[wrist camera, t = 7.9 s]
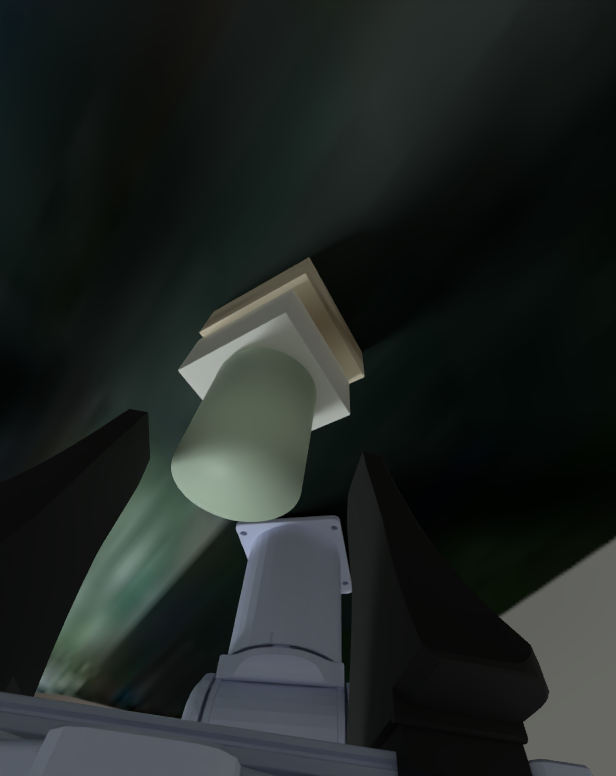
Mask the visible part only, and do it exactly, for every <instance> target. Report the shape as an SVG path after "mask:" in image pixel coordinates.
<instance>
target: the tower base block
mask: <svg viewBox="0 0 616 776" xmlns="http://www.w3.org/2000/svg"><path fill="white" fill-rule="evenodd" d="M292 288H293V289H294V290H295V292H296V293H297V295H298V297H299V298H300V300H301V302H302V303H303V305H304V307H305V308H306V310H307V312H308V313H309V315H310V317H311V318H312V320H313V322H314V323H315V325H316V327H317V328H318V330H319V332H320V333H321V335H322V337H323V338H324V340H325V342H326V343H327V345H328V346H329V348H330V350H331V351H332V353H333V355H334V356H335V358H336V360H337V361H338V363H339V365H340V366H341V368H342V370H343V371H344V373H345V375H346V376H347V378H348V380H349V383H352V382H354V381H356V380H358V379H361V378H363V377H364V368H363V359H362V352H361V350H360V348H359V346H358V344H357V343H356V341H355V339H354V337H353V335H352V333H351V332H350V330H349V328H348V326H347V324H346V323H345V321H344V319H343V317H342V315H341V314H340V312H339V310H338V308H337V306H336V305H335V303H334V301H333V299H332V297H331V296H330V294H329V292H328V290H327V288H326V287H325V285H324V283H323V281H322V279H321V278H320V276H319V274H318V272H317V270H316V269H315V267H314V265H313V263H312V261H311V260H310V258H307V259H305V260H304V261H302V262H300V263H298V264H296V265H295V266H293V267H291V268H289V269H288V270H286V271H284V272H282V273H281V274H279V275H277V276H275V277H274V278H272V279H270V280H268V281H267V282H265V283H263V284H261V285H260V286H258V287H256V288H254V289H253V290H251V291H249V292H247V293H246V294H244V295H242V296H240V297H238V298H237V299H235V300H233V301H231V302H230V303H228V304H226V305H224V306H223V307H221V308H219V309H217V310H216V311H214V312H213V314H212V315H211V316H210V318H209V319H208V321H207V322H206V324H205V325H204V326H203V328H202V329H201V331H200V334H201V335H202V336H203V338H204V337H206V336H208V335H209V334H211V333H213V332H215V331H216V330H218V329H220V328H222V327H224V326H225V325H227V324H229V323H231V322H233V321H234V320H236V319H238V318H240V317H242V316H243V315H245V314H247V313H249V312H251V311H252V310H254V309H256V308H258V307H260V306H261V305H263V304H265V303H267V302H269V301H270V300H272V299H274V298H276V297H277V296H279V295H281V294H283V293H285V292H286V291H288V290H290V289H292Z"/></svg>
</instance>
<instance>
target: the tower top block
mask: <svg viewBox="0 0 616 776" xmlns="http://www.w3.org/2000/svg"><path fill="white" fill-rule="evenodd" d="M252 348H266V349H272V350H277V351H279V352H282V353H285V354H287V355H289V356H291V357H292V358H294V359H296V360H297V361H298V362H299V363H301V364H302V365H303V366H304V367H305V368H306V370H307V371H308V372H309V373H310V375H311V377H312V379H313V381H314V383H315V387H316V394H317V397H316V405H315V411H314V417H313V423H312V429H311V431H312V430H314V429H317V428H319V427H322V426H324V425H326V424H329V423H331V422H334V421H336V420H338V419H341V418H343V417H346V416H348V415H350V398H349V380H348V378H347V376H346V375H345V373H344V371H343V370H342V368H341V366H340V365H339V363H338V361H337V360H336V358H335V356H334V355H333V353H332V351H331V350H330V348H329V346H328V345H327V343H326V342H325V340H324V338H323V337H322V335H321V333H320V332H319V330H318V328H317V327H316V325H315V323H314V322H313V320H312V318H311V317H310V315H309V313H308V312H307V310H306V308H305V307H304V305H303V303H302V302H301V300H300V298H299V297H298V295H297V293H296V292H295V290H294V289H293V288H292V289H290V290H288V291H286V292H285V293H283V294H281V295H279V296H277V297H276V298H274V299H272V300H270V301H269V302H267V303H265V304H263V305H261V306H260V307H258V308H256V309H254V310H252V311H251V312H249V313H247V314H245V315H243V316H242V317H240V318H238V319H236V320H234V321H233V322H231V323H229V324H227V325H225V326H224V327H222V328H220V329H218V330H216V331H215V332H213V333H211V334H209V335H208V336H206V337H204V338H202V339H200V340H199V341H198V342H197V343H196V345H195V346H194V348H193V349H192V351H191V352H190V354H189V355H188V356H187V358H186V359H185V361H184V362H183V364H182V365H181V367H180V368H179V370H178V371H179V372H180V373H181V375H182V376H183V377H184V378H185V379H186V381H187V382H188V383H189V384H190V385H191V387H192V388H193V389H194V390H195V391H196V393H197V394H198V395H199V396H200V397H201V399H202V400H203V399H204V397H205V395H206V393H207V391H208V389H209V388H210V386H211V384H212V382H213V380H214V378H215V376H216V375H217V373H218V371H219V369H220V367H221V366H222V364H223V363H224V362H225V361H226V360H227V359H228V358H229V357H230V356H232V355H234V354H235V353H237V352H240V351H242V350H246V349H252Z"/></svg>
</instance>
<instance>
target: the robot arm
mask: <svg viewBox="0 0 616 776" xmlns="http://www.w3.org/2000/svg"><path fill="white" fill-rule="evenodd" d="M149 460H150V446H149V423H148V412H143V411H138V410H132V409H129V410H127V411H126V412H124V413H123V414H121V415H119V416H118V417H116V418H115V419H113V420H112V421H110V422H109V423H107V424H106V425H104V426H103V427H101V428H100V429H98V430H96V431H95V432H93V433H92V434H90V435H89V436H87V437H85V438H84V439H82V440H81V441H79V442H77V443H76V444H74V445H73V446H71V447H69V448H67V449H66V450H64V451H62V452H60V453H59V454H57V455H55V456H53V457H52V458H50V459H48V460H46V461H45V462H43V463H41V464H39V465H37V466H35V467H33V468H31V469H29V470H27V471H25V472H23V473H21V474H19V475H17V476H15V477H12V478H10V479H8V480H6V481H4V482H1V483H0V776H593V775H592V773H591V770H590V769H589V768H588V767H586V766H584V765H579V764H572V763H566V762H559V761H553V760H546V759H536V760H530V761H528V759H527V756H526V753H525V750H524V746H523V744H527V742H528V737H527V734H526V730H525V727H524V724H523V721H525V720H526V719H527V718H529V717H530V716H531V715H532V714H534V713H535V712H536V711H537V710H538V709H539V708H541V707H542V706H543V704H544V703H545V702H546V700H547V699H548V694H549V690H548V687H547V684H546V682H545V679H544V677H543V673H542V671H541V668H540V666H539V663H538V660H537V658H536V656H535V654H534V652H533V649H532V647H531V645H530V644H529V643H528V642H527V641H525V640H524V639H523V638H522V637H521V636H520V635H519V634H518V633H516V632H515V631H514V630H513V629H512V628H511V627H510V626H509V625H507V624H506V623H505V622H504V621H503V620H502V619H501V618H499V617H498V616H497V615H496V614H495V613H494V612H493V611H492V610H491V609H490V608H489V607H488V606H487V605H486V604H485V603H484V602H483V601H482V600H481V599H480V598H479V597H478V596H477V595H476V594H475V593H474V592H473V591H472V590H471V589H470V588H469V587H468V586H467V584H466V583H465V582H464V581H463V580H462V579H461V578H460V577H459V575H458V574H457V573H456V572H455V571H454V570H453V569H452V568H451V566H450V565H449V564H448V563H447V562H446V560H445V559H444V558H443V557H442V555H441V554H440V553H439V552H438V550H437V549H436V548H435V546H434V545H433V544H432V542H431V541H430V540H429V538H428V537H427V535H426V534H425V532H424V531H423V529H422V528H421V526H420V525H419V523H418V522H417V520H416V519H415V517H414V516H413V514H412V512H411V511H410V509H409V507H408V506H407V504H406V502H405V500H404V499H403V497H402V495H401V493H400V492H399V490H398V488H397V486H396V484H395V482H394V480H393V479H392V477H391V475H390V473H389V471H388V469H387V467H386V465H385V463H384V461H383V459H382V457H381V455H377V454H371V453H366V452H362V455H361V458H360V461H359V464H358V467H357V470H356V472H355V475H354V478H353V481H352V484H351V487H350V490H349V493H348V507H347V531H348V545H349V558H350V570H351V576H350V571H349V566H348V560H347V555H346V550H345V544H344V539H343V534H342V528H341V523H340V519H339V517H337V516H335V515H330V516H314V517H298V518H282V519H272V520H267V521H261V522H242V521H240V522H238V523H237V525H236V530H237V533H238V535H239V538H240V540H241V543H242V545H243V548H244V551H245V553H246V556H247V558H248V563H247V568H246V573H245V578H244V582H243V587H242V592H241V596H240V601H239V606H238V610H237V615H236V620H235V625H234V629H233V634H232V639H231V643H230V648H229V653H228V655H221V656H220V659H219V664H218V668H217V673H216V674H214V673H208V674H206V675H205V676H204V677H203V678H202V680H201V681H200V682H199V683H198V684H197V685H196V686H195V688H194V689H193V691H192V692H191V694H190V696H189V699H188V701H187V704H186V706H185V709H184V712H183V716H182V719H176V718H170V717H163V716H157V715H150V714H143V713H137V712H130V711H124V710H117V709H110V708H104V707H97V706H91V705H84V704H77V703H71V702H64V701H58V700H51V699H44V698H38V697H34V694H35V692H36V689H37V687H38V685H39V682H40V680H41V677H42V675H43V672H44V670H45V667H46V665H47V662H48V660H49V657H50V655H51V653H52V650H53V648H54V646H55V643H56V641H57V639H58V636H59V634H60V632H61V629H62V627H63V625H64V622H65V620H66V618H67V616H68V613H69V611H70V609H71V607H72V605H73V602H74V600H75V598H76V596H77V594H78V592H79V589H80V587H81V585H82V583H83V581H84V579H85V577H86V575H87V573H88V571H89V569H90V567H91V564H92V562H93V560H94V558H95V556H96V555H97V553H98V551H99V549H100V547H101V546H102V544H103V542H104V540H105V539H106V537H107V536H108V534H109V532H110V531H111V529H112V527H113V526H114V524H115V523H116V521H117V519H118V518H119V516H120V514H121V513H122V511H123V510H124V508H125V506H126V505H127V503H128V501H129V500H130V498H131V496H132V495H133V493H134V491H135V490H136V488H137V486H138V484H139V482H140V480H141V478H142V476H143V474H144V471H145V469H146V467H147V464H148V462H149ZM350 592H352V633H351V663H350V683H346V689H345V697H344V664H343V663H341V594H343V593H350Z"/></svg>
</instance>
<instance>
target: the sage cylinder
mask: <svg viewBox="0 0 616 776" xmlns="http://www.w3.org/2000/svg"><path fill="white" fill-rule="evenodd" d="M316 397H317V394H316V387H315V383H314V381H313V379H312V377H311V375H310V373H309V372H308V371H307V370H306V368H305V367H304V366H303V365H302V364H301V363H299V362H298V361H297V360H296V359H294V358H292V357H291V356H289V355H287V354H285V353H282V352H279V351H277V350H272V349H266V348H252V349H246V350H242V351H240V352H237V353H235V354H234V355H232V356H230V357H229V358H228V359H227V360H226V361H225V362H224V363H223V364H222V366H221V367H220V369H219V371H218V373H217V375H216V376H215V378H214V380H213V382H212V384H211V386H210V388H209V389H208V391H207V393H206V395H205V397H204V399H203V401H202V403H201V404H200V406H199V408H198V410H197V412H196V414H195V416H194V417H193V419H192V421H191V423H190V425H189V427H188V429H187V430H186V432H185V434H184V436H183V438H182V440H181V442H180V443H179V445H178V447H177V449H176V451H175V453H174V455H173V458H172V462H171V471H172V475H173V478H174V481H175V483H176V484H177V486H178V488H179V489H180V490H181V492H182V493H183V494H184V495H185V496H186V497H187V498H188V499H189V500H191V501H192V502H193V503H194V504H196V505H197V506H199V507H200V508H202V509H204V510H206V511H208V512H210V513H212V514H214V515H217V516H220V517H223V518H226V519H230V520H235V521H242V522H261V521H267V520H272V519H275V518H278V517H280V516H282V515H284V514H286V513H287V512H289V511H290V510H291V509H292V508H293V507H294V506H295V505H296V504H297V502H298V500H299V498H300V495H301V490H302V484H303V478H304V472H305V465H306V459H307V453H308V447H309V441H310V435H311V429H312V423H313V417H314V411H315V405H316Z"/></svg>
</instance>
